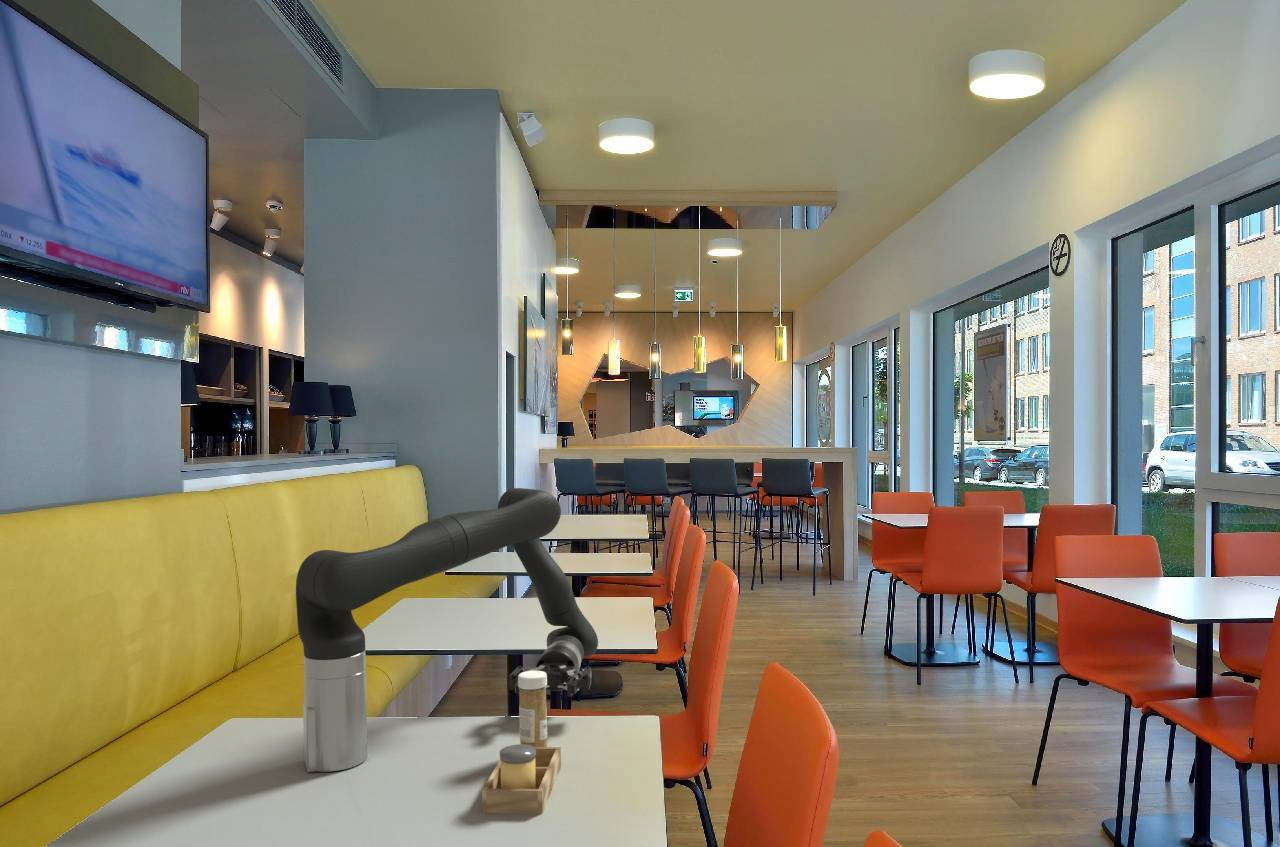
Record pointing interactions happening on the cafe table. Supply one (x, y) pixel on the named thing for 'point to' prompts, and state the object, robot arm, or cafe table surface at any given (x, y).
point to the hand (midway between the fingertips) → (544, 690)
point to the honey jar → (518, 767)
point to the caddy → (524, 798)
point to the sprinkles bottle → (533, 708)
